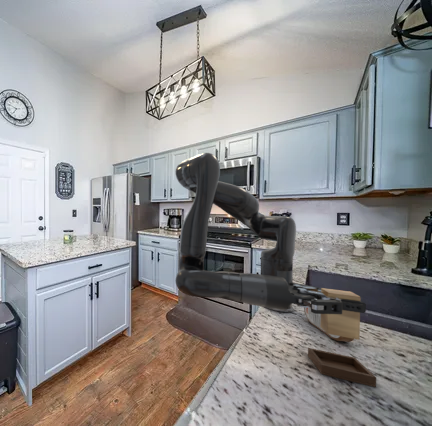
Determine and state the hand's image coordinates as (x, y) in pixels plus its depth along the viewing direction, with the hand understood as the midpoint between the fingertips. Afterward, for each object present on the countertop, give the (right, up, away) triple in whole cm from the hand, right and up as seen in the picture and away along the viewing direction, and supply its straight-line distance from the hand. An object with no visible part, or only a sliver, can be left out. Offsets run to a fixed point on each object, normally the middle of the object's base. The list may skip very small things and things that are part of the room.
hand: (357, 303), depth 44 cm
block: (-3, -7, +1) cm, 8 cm away
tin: (+10, -15, +16) cm, 24 cm away
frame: (-3, -15, +1) cm, 15 cm away
